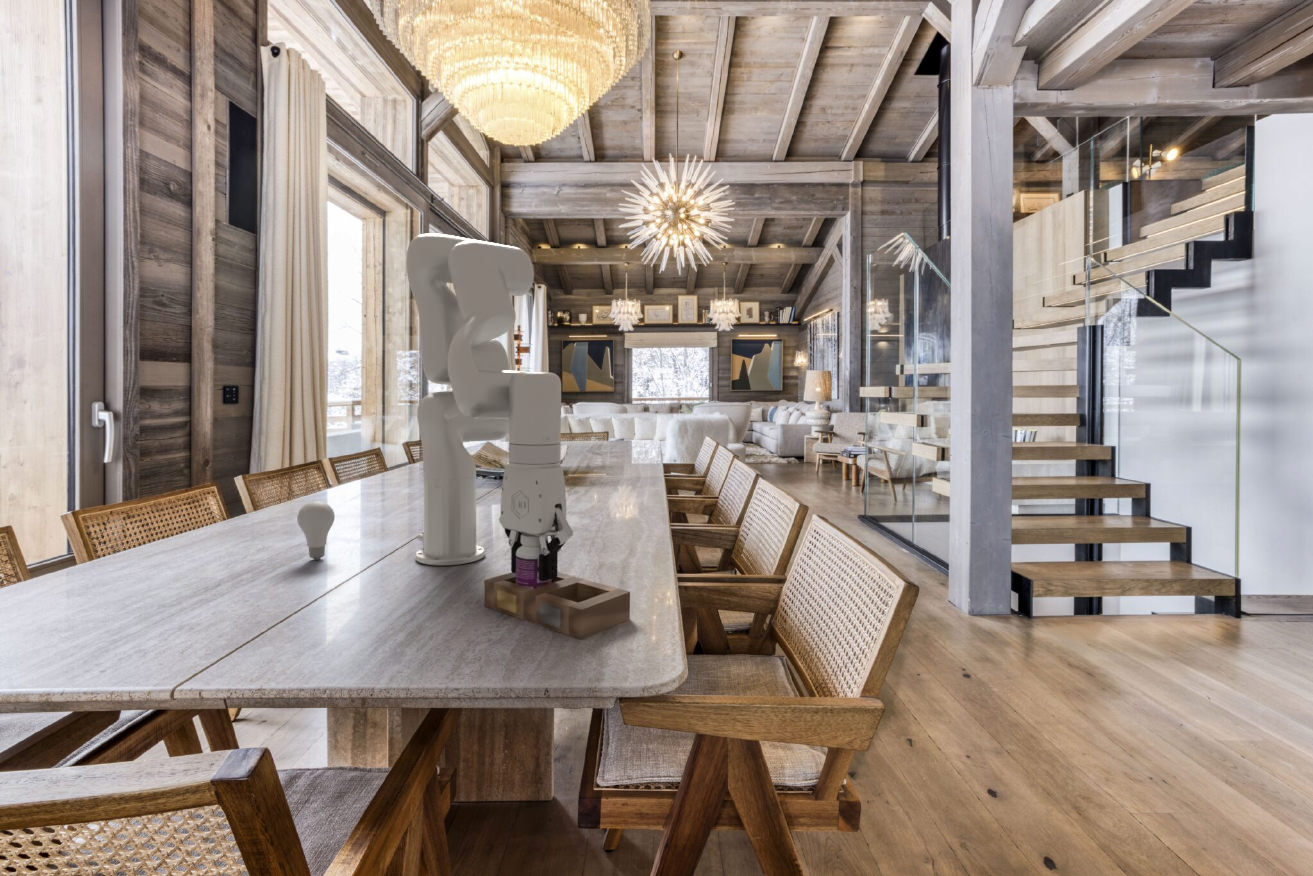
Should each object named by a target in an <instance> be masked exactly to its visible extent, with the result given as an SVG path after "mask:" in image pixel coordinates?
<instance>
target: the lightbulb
mask: <svg viewBox="0 0 1313 876" xmlns="http://www.w3.org/2000/svg"><path fill="white" fill-rule="evenodd" d="M334 522H335V512H334V510H333V508H332V506H331V505H330V504H328V503H327V502H324V501H319V500H315V501H313V500H312V501H309V502H307V503H305V504H304V505H303V506H302V507H301V508H300V509H299V511H298V514H297V524H298V526H299V528H300V529H301V531H302V533H303V534H304V537H305V539H306V546H307V547H308V554H309V557H310V558H311V559H312V560H315V561H318V560H320V559H321V558H323V557H324V556H325V555H326V554H325V552H326V551H325V550H326V545H327V538H328V534H329V531H330V530H331V528H332V526H333V524H334Z"/></svg>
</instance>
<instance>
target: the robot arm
mask: <svg viewBox="0 0 1313 876" xmlns="http://www.w3.org/2000/svg"><path fill="white" fill-rule="evenodd" d="M406 251H407V252H406V259H405V260H406V261H405V262H406V265H405V266H406V275H407V280H408V283H409V286H410V290H411V294H412V295H413V299H414V301H415V304H416V307H417V311H418V312H417V314H418V320H419V333H420V334H419V336H420V338H419V339H420V350H421V363H422V369H423V373H424V375H425V377H426V379H427V380H428V381H429V382H431V383H434V384H437V385H445V386H447V385H448V386H449V385H450V386H451V390H449V391H448V390H445V391H435V392H431V393H429V394H427V395H425V396H424V397H422V399H420V401H419V402H418V405H417V413H416V414H417V416H416V417H417V424H418V429H419V434H420V441H421V447H422V448H421V450H422V466H423V467H422V470H423V472H422V474H423V475H422V477H423V531H422V533H419V534H418V535H417V540H418V541H419V542H422V548H420V549H419V550H417V551H416V552H415V557H414V558H415V561H417V562H418V563H420V564H423V565H428V566H457V565H464V564H468V563H470V564H471V563H473V562H476V561H479V560H481V559H482V558H484V557H485V552H486V551H485V548H484V547H482V546H480V545H478V544H477V467H476V462H475V460H474V458H473V456H472V455H471V454H470V453H469V451H468V450H467V448H466V447H465V445H464V443H469V442H488V441H499V440H503V439H504V438H506V437H507V436H508V439H509V440H508V442H509V443H508V462H507V463H506V464H505V467H504V472H503V476H502V484H501V495H500V511H499V512H500V513H499V515H500V516H499V519H498V521H499V523H500V525H501V527H502V528H503V530H504V533H505V534H506V536H507V538H508V542H507V543H508V545H509V547H510V550H511V551H510V557H511V558H510V560H511V561H510V568H511V569H510V573H516V552H517V550H518V548H520V547H521V546H523V545H522V544H521V534H522V533H526V534H530V535H535V536H539V540H540V544H541V549H542V553H543V554H539V580H540V581H546V580H550V579H553V578H556V577H557V572H558V563H559V562H558V557H559V555H558V554H559V552H561V551H562V547H563V546H564V545H565V544H566V542H568V541H569V540H570V538H572V537H573V535H574V532H573V530H572V528H571V526H570V524H569V523H568V520H567V494H566V482H565V475H564V470H563V466H562V465H561V448H562V447H561V445H562V444H561V443H562V442H561V441H562V440H561V436H562V433H561V432H562V430H561V429H562V380H561V378H560V377H559V375H557V374H556V373H554V372H549V371H548V372H547V371H546V372H545V371H529V370H511V369H510V365H509V364H510V363H509V358H508V357H509V356H508V353H507V351H506V348H505V347H504V345H503V344H502V343H501V341H499V340H497V338H499V337H501V336H502V335H505V334H506V333H508V332H509V331H510V330H511V329H512V328H513V327H514V325H515V322H516V320H517V319H516V317H517V314H516V310H515V308H514V305H513V301H512V298H511V296H514V297H519V296H524V295H526V294H528V293H529V292H530V289H532V285H533V284H534V276H535V273H534V266H533V263H532V261H531V259H530V257H529V256H530V255H528V254H527V252H526V251H524V250H523V249H522V248H520V247H516V246H511V245H505V244H500V243H495V242H489V241H484V240H478V239H472V238H466V237H460V236H455V235H450V234H442V233H422V234H419V235H417V236H415V237H414V238H413V239H411V241H410V243H409V245H408V247H407V250H406ZM447 284H452V285H453V290H454V291H452V290H451V288H450V287H449V286H448V285H447ZM547 536H548V538H547ZM549 537H550V541H549Z"/></svg>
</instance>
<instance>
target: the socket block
mask: <svg viewBox="0 0 1313 876" xmlns="http://www.w3.org/2000/svg"><path fill="white" fill-rule="evenodd" d="M483 587H484V589H483V590H484V591H483V592H484V594H483V595H484V597H483V598H484V599H483V600H484V602H483V603H484V605H483V606H484V607H485V608H489V609H492V610H494V611H498V612H501V613H502V614H506V615H509V616H511V617H515V618H517V619H520V620H523V621H526V622H529V623H531V624H534V625H535V624H536V625H537V626H540V627H543V628H547V629H549V630H553V631H555V632H558V633H561V634H564V635H566V636H569V637H572V638H575V639H578V640H583V639H586V638H588V637H591V636H593V635H595V634H598V633H600V632H603V631H604V630H607V629H610V628H612V627H613V626H614V627H615V626H616V625H619V624H622V623H623V622H626V621H628V620H630V617H631V616H630V615H631V614H630V612H631V591H629V590H627V589H622V588H618V587H614V586H611V585H607V584H603V583H599V582H595V581H592V580H588V579H584V578H580V577H578V576H577V577H576V576H573V575H569V574H566V573H562V572H559V571H557V577H556V578H553V579H552V583H551V584H548V585H545V586H542V587H538V588H535V589H531V588H527V587H524V586H521V585H517V584H516V573H512V572H509V573H505V574H502V575H501V574H500V575H498V576H494V577H491V578H487V579H484V586H483Z"/></svg>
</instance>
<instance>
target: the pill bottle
mask: <svg viewBox="0 0 1313 876" xmlns="http://www.w3.org/2000/svg"><path fill="white" fill-rule="evenodd" d="M547 538H548V539H549V536H547ZM521 544H522V545H523V546H521V547H520V548H518V550H517V552H516V584H517V585H521V586H524V587H527V588H531V589H535V588H538V587H542V586H545V585H548V584H551V583H552V579H550V580H546V581H540V580H539V554H543V553H542V549H541V544H540V540H539V536H535V535H530V534H526V533H522V534H521Z"/></svg>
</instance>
